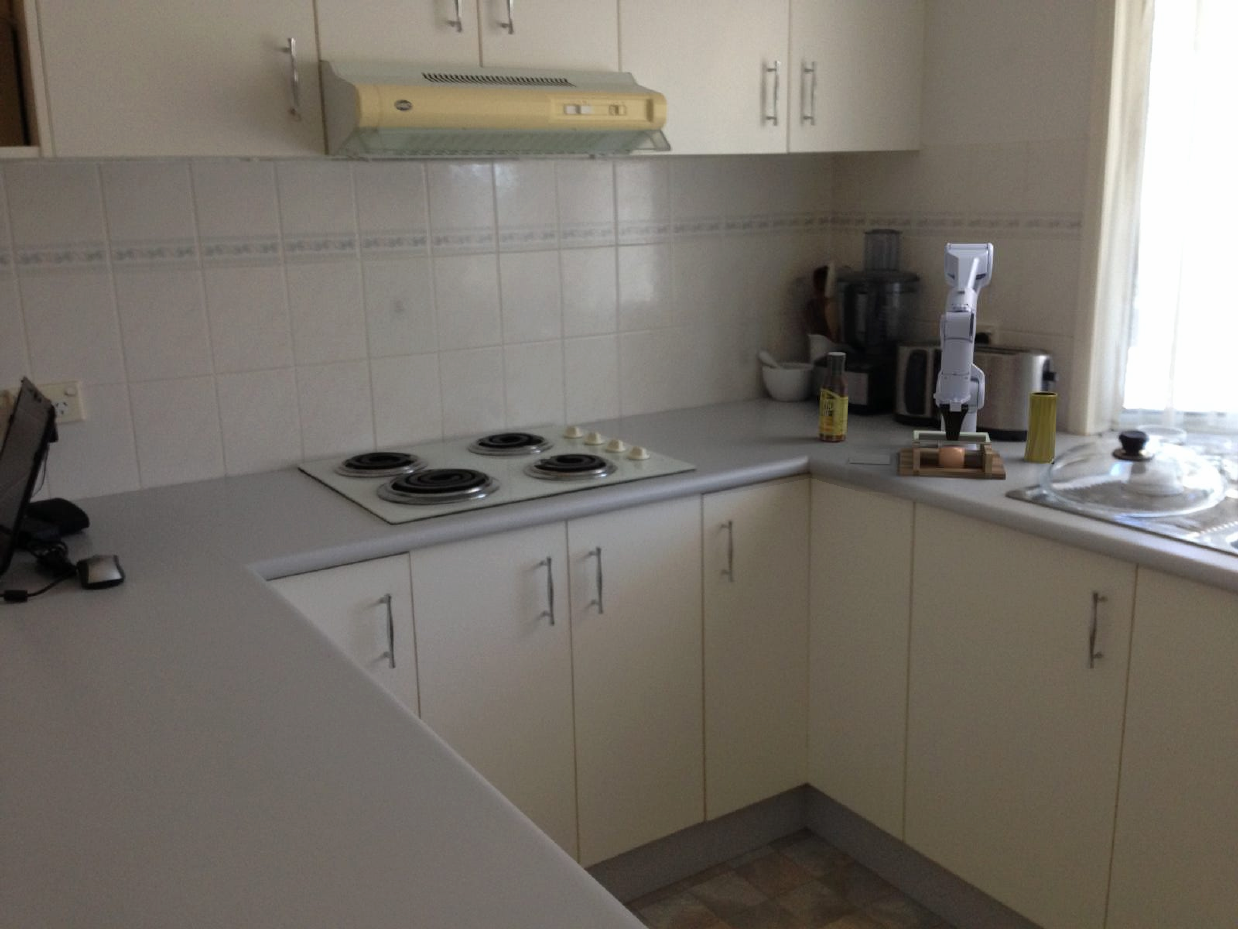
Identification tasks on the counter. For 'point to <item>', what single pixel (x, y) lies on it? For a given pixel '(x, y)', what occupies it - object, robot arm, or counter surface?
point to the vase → (1041, 427)
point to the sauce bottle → (834, 400)
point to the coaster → (870, 459)
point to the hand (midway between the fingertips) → (952, 440)
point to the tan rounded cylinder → (951, 456)
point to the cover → (941, 438)
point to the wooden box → (975, 466)
